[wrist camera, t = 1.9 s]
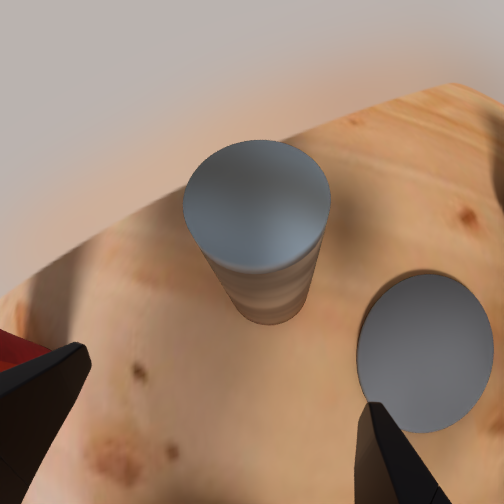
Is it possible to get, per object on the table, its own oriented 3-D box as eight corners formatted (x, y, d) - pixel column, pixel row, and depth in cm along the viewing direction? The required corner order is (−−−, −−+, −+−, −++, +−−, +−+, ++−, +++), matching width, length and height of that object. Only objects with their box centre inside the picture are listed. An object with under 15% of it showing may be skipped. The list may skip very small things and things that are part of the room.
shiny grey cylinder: (302, 330, 21) (325, 274, 10) (224, 318, 22) (165, 253, 11) (311, 256, 23) (332, 146, 12) (238, 247, 24) (203, 137, 13)
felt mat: (441, 456, 16) (444, 457, 15) (322, 378, 20) (323, 378, 19) (507, 326, 19) (511, 325, 18) (406, 248, 23) (409, 245, 22)
